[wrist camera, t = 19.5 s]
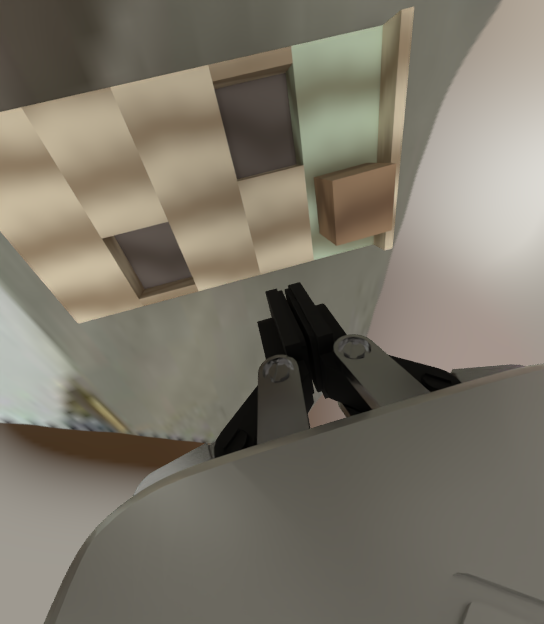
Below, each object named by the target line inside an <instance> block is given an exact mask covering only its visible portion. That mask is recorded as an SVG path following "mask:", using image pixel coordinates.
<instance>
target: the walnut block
mask: <svg viewBox="0 0 544 624" xmlns="http://www.w3.org/2000/svg"><path fill="white" fill-rule="evenodd" d="M395 177H396V163H364V164H361V165H357V166H354V167H350V168H346V169H343V170H339V171H335V172H332V173H328V174H324V175H321V176H317V177H314V185H315V195H316V205H317V214H318V224H319V233H320V234H321V235H322V236H324V237H325V238H326V239H328V240H329V241H330V242H332V243H333V244H335V245H336V246H338V245H342V244H345V243H349V242H352V241H356V240H359V239H363V238H366V237H370V236H373V235H377V234H380V233H384V232H387V231H391V230H392V220H393V206H394V192H395Z"/></svg>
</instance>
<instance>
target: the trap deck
mask: <svg viewBox="0 0 544 624" xmlns="http://www.w3.org/2000/svg"><path fill="white" fill-rule="evenodd" d="M413 16H414V7H411V8H407V9H402V10H401V11H399V12H398V13H397V14H396V15H395V16H393V17H392V18H391V19H390V20H388V21H387V22H386V23H385V24H384V25H381V26H377V27H373V28H368V29H364V30H359V31H355V32H351V33H346V34H342V35H337V36H333V37H329V38H324V39H320V40H315V41H311V42H307V43H302V44H298V45H293V46H289V47H285V48H280V49H276V50H272V51H267V52H263V53H258V54H254V55H250V56H245V57H241V58H236V59H232V60H228V61H223V62H219V63H214V64H210V65H206V66H201V67H197V68H192V69H188V70H184V71H179V72H175V73H170V74H166V75H162V76H157V77H153V78H148V79H144V80H140V81H135V82H131V83H126V84H122V85H118V86H113V87H109V88H104V89H100V90H96V91H91V92H87V93H82V94H78V95H74V96H69V97H65V98H60V99H56V100H52V101H47V102H43V103H38V104H34V105H30V106H25V107H21V108H16V109H12V110H8V111H3V112H0V231H1V233H2V234H3V235H4V236H5V237H6V239H7V240H8V241H9V242H10V243H11V244H12V246H13V247H14V248H15V249H16V250H17V252H18V253H19V254H20V255H21V256H22V257H23V259H24V260H25V261H26V262H27V263H28V265H29V266H30V267H31V268H32V269H33V271H34V272H35V273H36V274H37V275H38V276H39V278H40V279H41V280H42V281H43V282H44V284H45V285H46V286H47V287H48V288H49V290H50V291H51V292H52V293H53V294H54V295H55V297H56V298H57V299H58V300H59V301H60V303H61V304H62V305H63V306H64V307H65V309H66V310H67V311H68V312H69V313H70V314H71V316H72V317H73V318H74V319H75V320H76V322H77V323H78V324H79V323H82V322H86V321H90V320H94V319H97V318H101V317H105V316H108V315H112V314H116V313H120V312H123V311H127V310H131V309H134V308H138V307H142V306H146V305H149V304H153V303H157V302H160V301H164V300H168V299H172V298H175V297H179V296H183V295H186V294H190V293H194V292H198V291H201V290H205V289H209V288H212V287H216V286H220V285H224V284H227V283H231V282H235V281H238V280H242V279H246V278H250V277H253V276H257V275H261V274H264V273H268V272H272V271H276V270H279V269H283V268H287V267H290V266H294V265H298V264H302V263H305V262H309V261H313V260H316V259H320V258H324V257H328V256H331V255H335V254H339V253H342V252H346V251H350V250H354V249H357V248H361V247H365V246H368V245H372V244H374V245H376V246H378V247H379V248H381V249H383V250H388V249H391V248H392V247H393V236H394V225H395V214H396V203H397V192H398V181H399V170H400V159H401V148H402V137H403V126H404V115H405V104H406V93H407V82H408V71H409V60H410V49H411V38H412V27H413ZM364 163H396V177H395V192H394V206H393V220H392V230H391V231H387V232H384V233H380V234H377V235H373V236H370V237H366V238H363V239H359V240H356V241H352V242H349V243H345V244H342V245H338V246H336V245H335V244H333V243H332V242H330V241H329V240H328V239H326V238H325V237H324V236H322V235H321V234H320V233H319V224H318V214H317V205H316V195H315V185H314V177H317V176H321V175H324V174H328V173H332V172H335V171H339V170H343V169H346V168H350V167H354V166H357V165H361V164H364Z"/></svg>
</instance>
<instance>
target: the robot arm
mask: <svg viewBox="0 0 544 624" xmlns="http://www.w3.org/2000/svg"><path fill="white" fill-rule="evenodd" d="M285 294H286V298H285V296H284V294H283V292H282V290H281V291H277V289H273V290H269V291H266V296H267V300H268V304H269V308H270V312H271V316H272V318H269V319H265V320H262V321H258V322H257V323H258V327H259V331H260V336H261V340H262V344H263V349H264V353H265V357H266V360H265V361H264V362H263V363H262V364H261V366H260V367H259V371H258V386H257V387H256V388H255V389H254V391H253V392H252V393H251V395H250V396H249V397H248V398H247V400H246V401H245V402H244V404H243V405H242V406H241V407H240V409H239V410H238V411H237V413H236V414H235V415H234V416H233V418H232V419H231V420H230V422H229V423H228V424H227V425H226V427H225V428H224V429H223V431H222V432H221V433H220V435H219V436H218V438H217V440H216V441H215V442H214V443H212V444H210V445H208V444H207V443H205V444H204V445H202V446H200V447H198V448H196V449H194V450H193V451H191V452H189V453H187V454H185V455H183V456H181V457H180V458H178V459H176V460H174V461H173V462H170V463H169V464H167V465H165V466H163V467H161V468H160V469H158V470H156V471H154V472H152V473H151V474H149V475H148V476H147V477H145V478H144V479H143V481H142V482H141V483H140V484H139V485H138V487H137V489H136V491H135V493H134V495H133V497H132V498H130V499H129V500H127V501H126V502H125V503H124V504H122V505H121V506H119V507H118V508H117V509H116V510H115V511H113V512H112V513H111V514H110V515H109V516H108V517H107V518H106V519H104V520H103V522H101V523H100V524H99V525H98V526H97V527H96V528H95V530H94V531H93V532H92V533H91V535H90V536H89V537H88V538H87V539H86V541H85V542H84V544H83V545H82V547H81V548H80V549H79V551H78V553H77V554H76V556H75V558H74V560H73V561H72V563H71V565H70V567H69V569H68V571H67V573H66V575H65V577H64V579H63V581H62V583H61V586H60V588H59V590H58V592H57V595H56V597H55V599H54V601H53V603H52V605H51V608H50V610H49V612H48V615H47V617H46V619H45V622H44V624H544V364H537V365H530V366H522V365H500V366H488V367H476V368H464V369H453V370H452V372H451V373H448V372H447V371H444V370H441V369H439V368H435V367H431V366H427V365H424V364H420V363H416V362H413V361H409V360H405V359H401V358H398V357H394V356H390V355H388V354H386V353H385V352H384V351H383V350H382V349H381V348H380V347H379V346H377V345H376V344H375V343H374V342H373V341H372V340H370V339H369V338H367V337H365V336H362V335H357V334H350V335H347V334H346V333H345V332H344V330H343V329H342V328H341V326H340V325H339V323H338V322H337V321H336V319H335V318H334V317H333V315H332V314H331V312H330V311H329V310H328V308H327V307H326V306H325V305H324V304H319V305H314V303H313V302H312V300H311V298H310V297H309V295H308V294H307V292H306V291H305V289H304V288H303V286H302V285H301V283H300V282H299V283H295V284H291V285H288V289H285ZM286 299H287V300H286ZM312 380H313V382H312ZM313 383H314V385H315V388H316V390H317V392H321V391H322V393H323V395H324V397H325V399H326V398H331V399H333V400H335V401H338V405H339V407H340V409H341V410H342V412H343V413H344V415H345V416H346V418H344V419H340V420H337V421H334V422H330V423H327V424H324V425H320V426H317V427H314V428H311V429H310V423H309V418H308V412H309V410H310V409H311V407H312V405H313V403H314V400H313V394H314V388H313Z"/></svg>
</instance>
